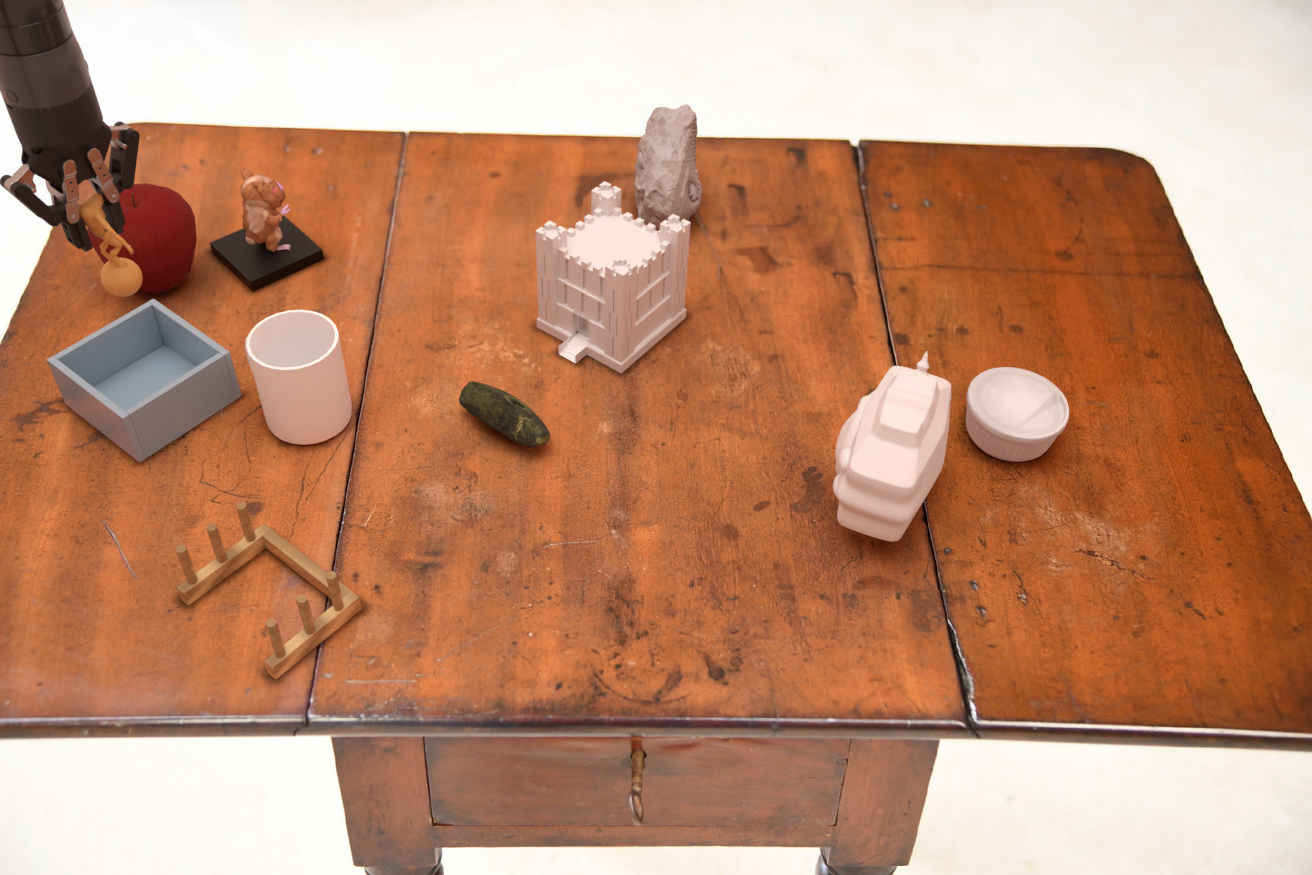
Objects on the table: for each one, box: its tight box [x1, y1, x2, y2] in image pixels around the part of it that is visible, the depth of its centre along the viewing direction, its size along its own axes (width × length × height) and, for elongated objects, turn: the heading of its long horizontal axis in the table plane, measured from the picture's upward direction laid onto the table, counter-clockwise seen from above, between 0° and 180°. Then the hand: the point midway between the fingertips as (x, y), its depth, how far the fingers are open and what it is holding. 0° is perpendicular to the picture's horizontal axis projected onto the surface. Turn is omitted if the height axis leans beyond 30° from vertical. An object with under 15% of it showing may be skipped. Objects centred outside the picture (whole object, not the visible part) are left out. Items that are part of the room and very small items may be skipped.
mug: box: [244, 309, 353, 446], centre depth 137 cm, size 10×12×12 cm
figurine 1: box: [77, 192, 143, 298], centre depth 126 cm, size 8×6×12 cm
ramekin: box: [965, 366, 1070, 463], centre depth 141 cm, size 11×11×5 cm
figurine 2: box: [209, 167, 325, 292], centre depth 156 cm, size 10×10×12 cm
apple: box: [86, 182, 198, 294], centre depth 151 cm, size 12×12×13 cm
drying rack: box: [174, 501, 363, 680], centre depth 121 cm, size 11×14×7 cm
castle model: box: [534, 180, 692, 374], centre depth 148 cm, size 13×15×14 cm
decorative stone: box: [458, 380, 551, 448], centre depth 139 cm, size 11×8×5 cm
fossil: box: [633, 103, 703, 231], centre depth 165 cm, size 16×9×15 cm, turn 172°
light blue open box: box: [46, 298, 243, 463], centre depth 139 cm, size 14×14×7 cm
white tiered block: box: [832, 350, 952, 543], centre depth 130 cm, size 11×18×16 cm, turn 158°
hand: (99, 238), depth 125 cm, fingers closed on figurine 1, 3 cm apart
